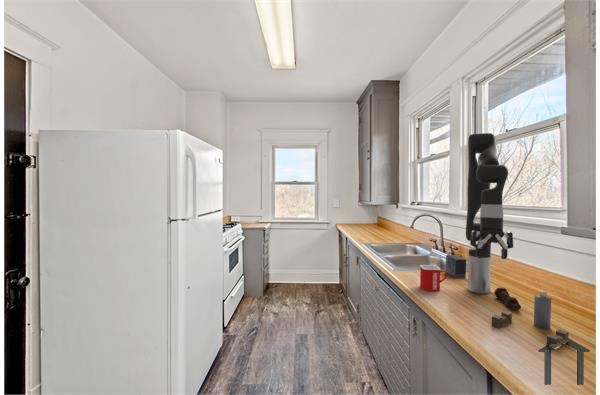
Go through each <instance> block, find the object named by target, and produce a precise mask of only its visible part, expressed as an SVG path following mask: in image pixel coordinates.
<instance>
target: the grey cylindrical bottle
mask: <svg viewBox="0 0 600 395" xmlns="http://www.w3.org/2000/svg"><path fill="white" fill-rule="evenodd" d="M547 293H548V292H547V291H545V290H539V294H535V295H534V306H533V309H534V310H533V326H534V327H535V328H537V329H541V330H545V331H546V330H548V331H549V330H551V322H552V321H551V319H552V297H551V296H548V294H547Z"/></svg>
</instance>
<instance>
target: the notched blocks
mask: <svg viewBox="0 0 600 395" xmlns="http://www.w3.org/2000/svg"><path fill="white" fill-rule="evenodd" d="M512 322H513V313H512V312H509V311H506V310H504V311H501V313H500V315H499V314H498V315H497V314H494V315H491V326H492V327H495V328H497V329H500V328H503V326H506V325H509V324H512ZM569 335H570V334H569V331H566V330H562V329H561V328H560V329H557V330H555V335H554V334H552V333H550V334H548V335H546V343H545V344H546V346H549V345H551V344H557V343H560V341H564V340H568V341H569Z"/></svg>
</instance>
